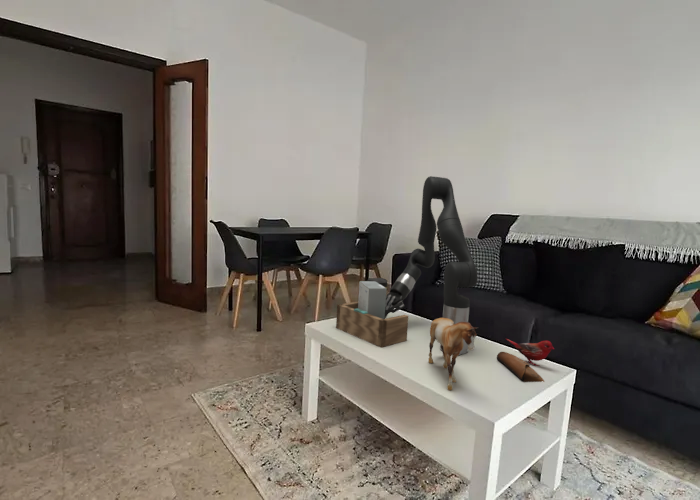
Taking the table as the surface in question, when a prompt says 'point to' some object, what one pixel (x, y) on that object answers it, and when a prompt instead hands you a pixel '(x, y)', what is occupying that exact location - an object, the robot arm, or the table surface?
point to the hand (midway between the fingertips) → (380, 318)
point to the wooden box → (371, 325)
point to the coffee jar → (379, 281)
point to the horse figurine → (451, 341)
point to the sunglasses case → (519, 367)
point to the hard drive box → (372, 298)
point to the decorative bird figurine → (534, 350)
